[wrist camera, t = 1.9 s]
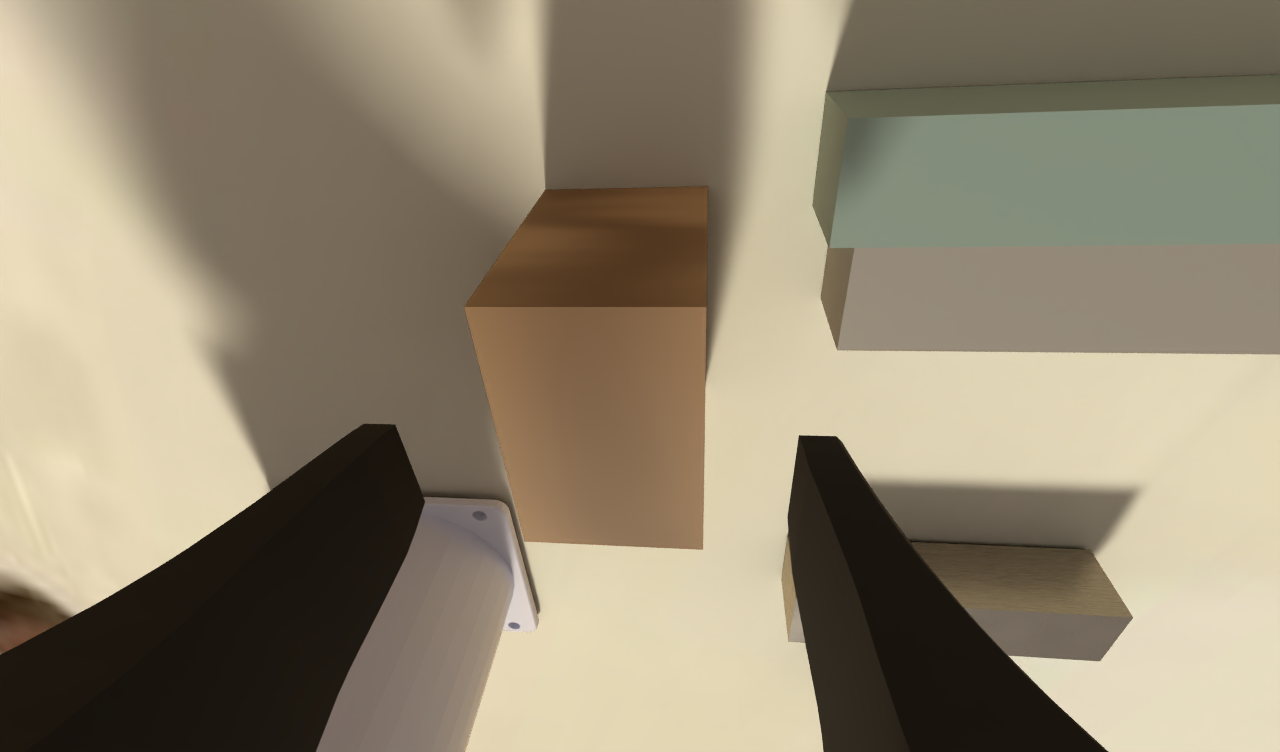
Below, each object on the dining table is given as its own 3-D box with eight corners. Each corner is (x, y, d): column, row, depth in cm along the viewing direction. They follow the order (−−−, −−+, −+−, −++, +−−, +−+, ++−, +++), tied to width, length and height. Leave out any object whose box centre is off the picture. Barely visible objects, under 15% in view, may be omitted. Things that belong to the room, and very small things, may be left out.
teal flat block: (800, 298, 16) (814, 349, 14) (825, 91, 13) (847, 118, 11) (1262, 298, 14) (1353, 355, 12) (1408, 69, 11) (1557, 94, 9)
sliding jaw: (768, 668, 26) (774, 744, 24) (787, 536, 21) (798, 615, 18) (1007, 684, 25) (1040, 765, 23) (1090, 549, 20) (1144, 636, 17)
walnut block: (574, 383, 18) (524, 541, 13) (545, 189, 15) (464, 306, 10) (704, 385, 18) (702, 549, 13) (708, 185, 14) (706, 306, 9)
